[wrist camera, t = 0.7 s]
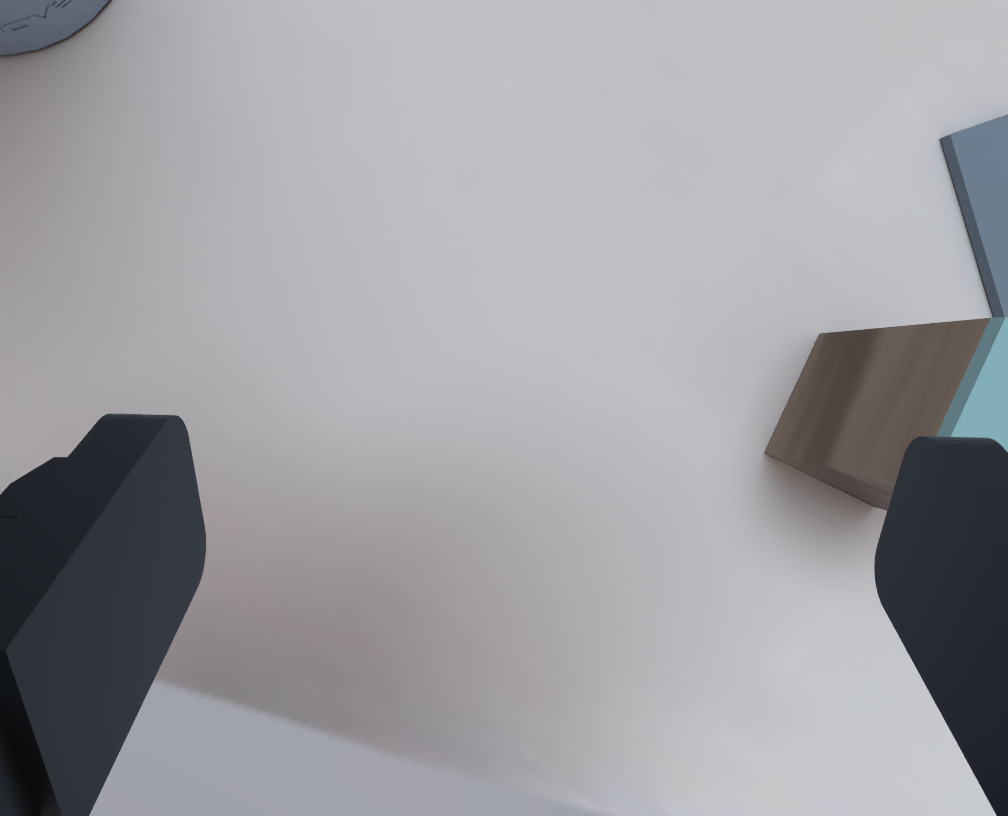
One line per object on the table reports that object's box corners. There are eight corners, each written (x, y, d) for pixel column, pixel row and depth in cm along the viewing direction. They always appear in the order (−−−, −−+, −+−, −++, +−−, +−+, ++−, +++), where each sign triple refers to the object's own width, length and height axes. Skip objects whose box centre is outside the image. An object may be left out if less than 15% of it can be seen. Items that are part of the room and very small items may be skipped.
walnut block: (764, 452, 33) (927, 486, 23) (819, 333, 33) (1005, 316, 23) (874, 506, 34) (1079, 562, 24) (928, 389, 34) (1154, 397, 24)
